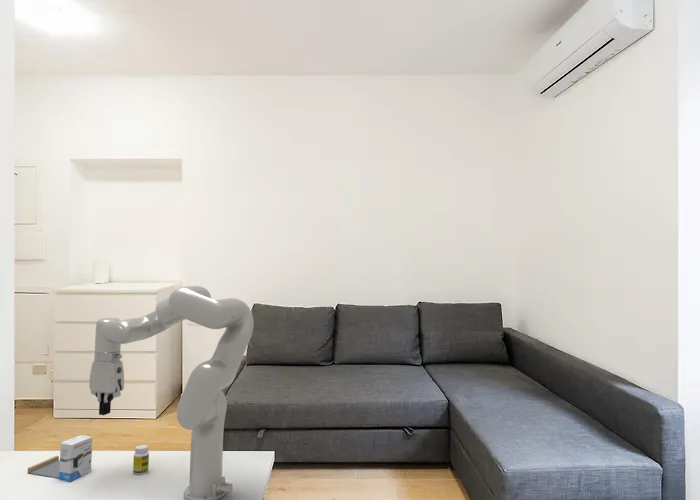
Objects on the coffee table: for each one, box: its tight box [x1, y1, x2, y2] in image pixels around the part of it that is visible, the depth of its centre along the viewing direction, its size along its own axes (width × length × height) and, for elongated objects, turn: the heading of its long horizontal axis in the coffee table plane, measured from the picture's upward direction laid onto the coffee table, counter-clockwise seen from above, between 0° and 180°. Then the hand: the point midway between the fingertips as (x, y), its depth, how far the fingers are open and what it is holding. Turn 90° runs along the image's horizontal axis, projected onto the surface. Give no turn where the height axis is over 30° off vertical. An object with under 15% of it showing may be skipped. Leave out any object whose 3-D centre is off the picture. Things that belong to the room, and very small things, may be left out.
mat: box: [27, 455, 60, 480], centre depth 165 cm, size 13×11×2 cm
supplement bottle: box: [132, 444, 150, 476], centre depth 165 cm, size 5×5×8 cm
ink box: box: [58, 434, 93, 483], centre depth 161 cm, size 8×5×12 cm, turn 161°
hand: (104, 413), depth 159 cm, fingers closed
